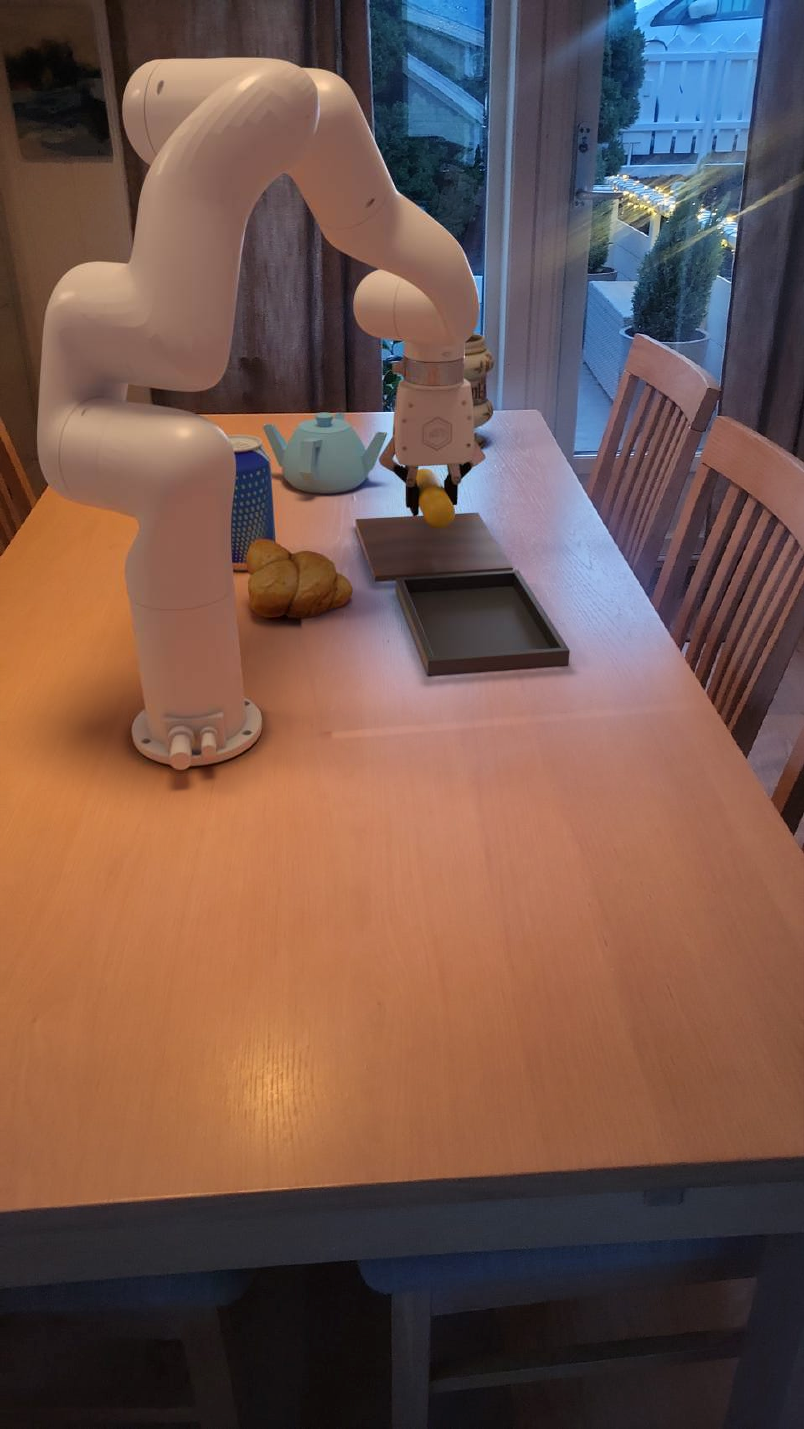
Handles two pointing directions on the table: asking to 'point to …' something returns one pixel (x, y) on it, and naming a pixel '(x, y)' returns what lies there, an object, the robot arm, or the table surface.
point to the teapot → (324, 454)
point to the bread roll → (292, 581)
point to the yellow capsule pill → (434, 500)
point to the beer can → (250, 497)
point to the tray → (479, 623)
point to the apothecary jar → (478, 380)
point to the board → (429, 547)
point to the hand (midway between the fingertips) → (431, 510)
